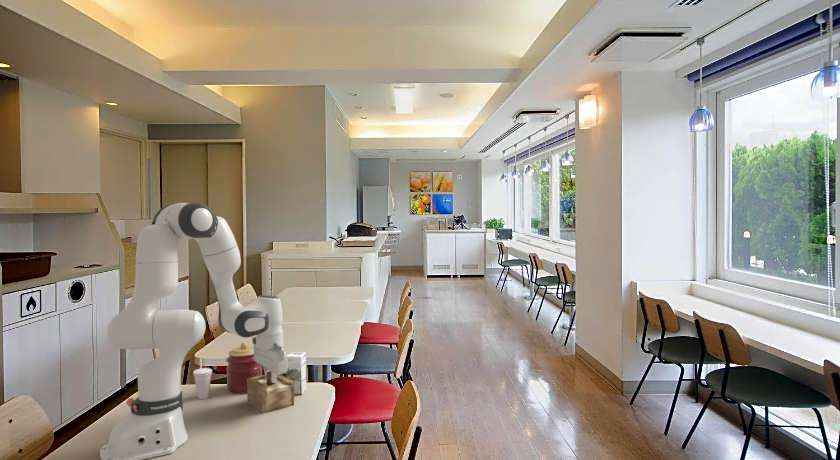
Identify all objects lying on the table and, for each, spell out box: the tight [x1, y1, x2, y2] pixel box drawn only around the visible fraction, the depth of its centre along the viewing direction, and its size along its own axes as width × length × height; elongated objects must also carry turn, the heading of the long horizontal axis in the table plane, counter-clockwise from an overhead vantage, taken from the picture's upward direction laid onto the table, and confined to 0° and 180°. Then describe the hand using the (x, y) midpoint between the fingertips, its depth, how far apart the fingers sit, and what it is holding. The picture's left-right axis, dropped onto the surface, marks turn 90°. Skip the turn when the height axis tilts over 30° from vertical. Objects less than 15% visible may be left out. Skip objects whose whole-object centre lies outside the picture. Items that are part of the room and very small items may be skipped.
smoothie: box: [192, 358, 213, 400], centre depth 188 cm, size 6×6×14 cm
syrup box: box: [286, 351, 307, 396], centre depth 192 cm, size 6×6×14 cm
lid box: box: [246, 374, 295, 414], centre depth 181 cm, size 11×14×8 cm
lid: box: [258, 370, 290, 395], centre depth 180 cm, size 8×13×5 cm
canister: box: [225, 341, 263, 395], centre depth 196 cm, size 13×13×18 cm
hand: (270, 380), depth 180 cm, fingers closed on lid, 3 cm apart
